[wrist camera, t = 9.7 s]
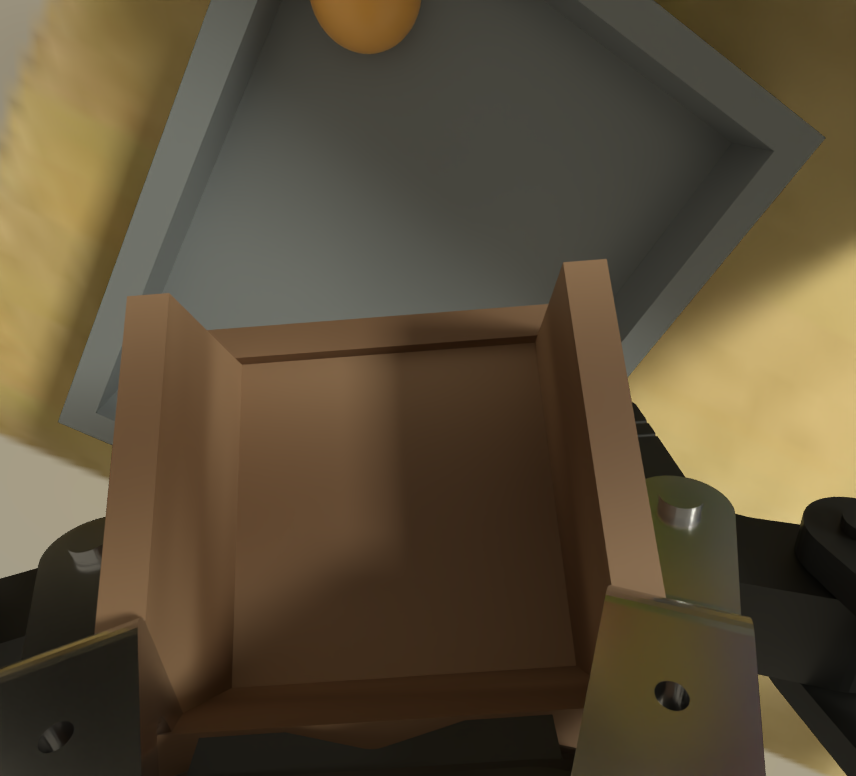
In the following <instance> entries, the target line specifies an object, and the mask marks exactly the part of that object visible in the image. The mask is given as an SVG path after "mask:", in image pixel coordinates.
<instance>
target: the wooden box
mask: <svg viewBox="0 0 856 776" xmlns="http://www.w3.org/2000/svg"><path fill="white" fill-rule="evenodd" d="M608 585H613V586H618V587H622V588H626V589H631V590H635V591H639V592H644V593H648V594H652V595H657V596H661V597H665V598H666V595H665V589H664V584H663V578H662V572H661V567H660V561H659V555H658V549H657V544H656V538H655V532H654V527H653V521H652V515H651V509H650V504H649V498H648V492H647V487H646V481H645V475H644V469H643V464H642V458H641V452H640V447H639V441H638V435H637V429H636V424H635V418H634V412H633V407H632V401H631V395H630V389H629V384H628V378H627V372H626V367H625V361H624V355H623V349H622V344H621V338H620V332H619V327H618V321H617V315H616V309H615V304H614V298H613V292H612V287H611V281H610V275H609V269H608V264H607V259H599V260H586V261H573V262H563V264H562V267H561V270H560V273H559V276H558V278H557V281H556V284H555V287H554V290H553V293H552V296H551V298H550V301H549V304H541V305H528V306H515V307H502V308H489V309H476V310H463V311H450V312H437V313H424V314H411V315H398V316H385V317H372V318H359V319H346V320H333V321H320V322H307V323H294V324H281V325H268V326H255V327H242V328H229V329H216V330H206V329H205V328H204V327H203V326H202V325H201V324H200V323H199V322H198V321H197V320H196V319H195V318H194V317H193V316H192V315H191V314H190V313H189V312H188V311H187V310H186V309H185V308H184V307H183V306H182V305H181V304H180V303H179V302H178V301H177V300H176V299H175V298H174V297H173V296H172V295H171V294H170V293H163V294H150V295H138V296H127V302H126V312H125V322H124V333H123V343H122V354H121V364H120V374H119V385H118V395H117V405H116V416H115V426H114V436H113V447H112V457H111V467H110V478H109V489H108V498H107V509H106V519H105V529H104V540H103V550H102V561H101V571H100V581H99V592H98V602H97V612H96V623H95V633H94V634H96V633H99V632H102V631H104V630H107V629H110V628H113V627H116V626H118V625H121V624H124V623H127V622H129V621H132V620H135V619H138V618H141V617H142V618H144V619H145V623H146V625H147V627H148V630H149V632H150V635H151V637H152V639H153V642H154V644H155V647H156V649H157V651H158V654H159V656H160V658H161V661H162V663H163V666H164V668H165V670H166V673H167V675H168V678H169V680H170V682H171V685H172V687H173V690H174V692H175V694H176V697H177V699H178V701H179V704H180V706H181V709H182V711H183V714H182V716H181V717H180V719H179V721H178V722H177V724H176V726H175V727H174V729H173V730H172V732H168V733H163V734H157V746H158V765H159V776H175V775H177V774H180V773H183V772H185V771H188V770H189V767H190V764H191V761H192V758H193V754H194V751H195V748H196V745H197V742H198V739H199V738H206V737H221V736H236V735H251V734H266V733H281V732H286V733H291V734H296V735H301V736H306V737H311V738H315V739H320V740H325V741H330V742H335V743H340V744H344V745H349V746H354V747H359V748H364V749H378V748H382V747H385V746H389V745H392V744H395V743H398V742H401V741H404V740H407V739H410V738H413V737H416V736H419V735H422V734H425V733H428V732H431V731H434V730H437V729H440V728H443V727H446V726H449V725H452V724H455V723H458V722H461V721H464V720H476V719H491V718H506V717H521V716H536V715H551V714H553V719H554V724H555V728H556V733H557V737H558V742H559V744H560V745H565V746H569V747H574V748H576V746H577V741H578V736H579V731H580V726H581V720H582V715H583V710H584V705H585V700H586V694H587V689H588V684H589V679H590V674H591V668H592V663H593V658H594V653H595V648H596V642H597V637H598V632H599V627H600V622H601V616H602V611H603V606H604V601H605V596H606V591H607V587H608Z"/></svg>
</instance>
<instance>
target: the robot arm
mask: <svg viewBox="0 0 856 776" xmlns="http://www.w3.org/2000/svg"><path fill="white" fill-rule="evenodd" d="M632 407H633V412H634V418H635V424H636V429H637V435H638V441H639V447H640V452H641V458H642V464H643V469H644V475H645V481H646V487H647V492H648V498H649V504H650V509H651V515H652V521H653V527H654V532H655V538H656V544H657V549H658V555H659V561H660V567H661V572H662V578H663V584H664V589H665V595H666V598H665V597H661V596H657V595H652V594H648V593H644V592H639V591H635V590H631V589H626V588H622V587H618V586H613V585H608V587H607V591H606V596H605V601H604V606H603V611H602V616H601V622H600V627H599V632H598V637H597V642H596V648H595V653H594V658H593V663H592V668H591V674H590V679H589V684H588V689H587V694H586V700H585V705H584V710H583V715H582V720H581V726H580V731H579V736H578V741H577V746H576V748H574V747H569V746H565V745H560V744H559V742H558V737H557V733H556V728H555V724H554V719H553V714H551V715H536V716H521V717H506V718H491V719H476V720H464V721H461V722H458V723H455V724H452V725H449V726H446V727H443V728H440V729H437V730H434V731H431V732H428V733H425V734H422V735H419V736H416V737H413V738H410V739H407V740H404V741H401V742H398V743H395V744H392V745H389V746H385V747H382V748H378V749H364V748H359V747H354V746H349V745H344V744H340V743H335V742H330V741H325V740H320V739H315V738H311V737H306V736H301V735H296V734H291V733H286V732H281V733H266V734H251V735H236V736H221V737H206V738H199V739H198V742H197V745H196V748H195V751H194V754H193V758H192V761H191V764H190V767H189V770H188V771H185V772H183V773H180V774H177V775H175V776H766V773H765V760H764V748H763V735H762V722H761V709H760V696H759V683H758V674H759V675H764V676H769V678H770V679H771V681H772V682H773V684H774V685H775V686H776V688H777V689H778V690H779V691H780V693H781V694H782V695H783V696H784V698H785V699H786V700H787V701H788V703H789V704H790V705H791V706H792V708H793V709H794V710H795V711H796V713H797V714H798V715H799V716H800V718H801V719H802V720H803V721H804V723H805V724H806V725H807V726H808V728H809V729H810V730H811V731H812V733H813V734H814V735H815V736H816V738H817V739H818V740H819V741H820V743H821V744H822V745H823V746H824V748H825V749H826V750H827V751H828V753H829V754H830V755H831V756H832V757H833V759H834V760H835V761H836V762H837V764H838V765H839V766H840V767H841V769H842V770H843V771H844V772H845V774H846V775H847V776H856V498H849V497H829V498H823V499H819V500H816V501H814V502H812V503H811V504H809V505H808V506H807V507H806V509H805V511H804V513H803V517H802V520H801V524H800V525H799V524H792V523H784V522H777V521H770V520H763V519H756V518H751V517H746V516H742V515H738V514H735V511H734V508H733V506H732V504H731V502H730V501H729V500H728V499H727V498H726V497H725V496H724V495H723V494H722V493H721V492H719V491H718V490H716V489H715V488H713V487H711V486H709V485H707V484H705V483H703V482H700V481H697V480H694V479H691V478H686V477H685V476H684V475H683V473H682V472H681V470H680V469H679V467H678V466H677V464H676V463H675V461H674V460H673V458H672V457H671V456H670V454H669V453H668V451H667V450H666V448H665V447H664V445H663V444H662V442H661V441H660V439H659V438H658V436H655V432H654V430H653V429H652V428H651V426H650V425H649V423H647V422H646V419H645V417H644V416H643V414H642V413H641V411H640V410H639V408H638V407H637V405H636V404H634V403H633V402H632ZM105 519H106V517H103V518H99V519H95V520H92V521H90V522H87V523H85V524H82V525H80V526H78V527H76V528H74V529H72V530H70V531H68V532H67V533H65V534H64V535H62V536H61V537H60V538H58V539H57V540H56V541H55V542H53V543H52V544H51V545H50V546H49V547H48V549H47V550H46V551H45V552H44V554H43V555H42V557H41V559H40V562H39V565H38V568H36V569H33V570H29V571H26V572H23V573H19V574H16V575H12V576H8V577H5V578H1V579H0V776H159V765H158V746H157V734H163V733H168V732H172V730H173V729H174V727H175V726H176V724H177V722H178V721H179V719H180V717H181V716H182V714H183V711H182V709H181V706H180V704H179V701H178V699H177V697H176V694H175V692H174V690H173V687H172V685H171V682H170V680H169V678H168V675H167V673H166V670H165V668H164V666H163V663H162V661H161V658H160V656H159V654H158V651H157V649H156V647H155V644H154V642H153V639H152V637H151V635H150V632H149V630H148V627H147V625H146V623H145V619H144V618H142V617H141V618H138V619H135V620H132V621H129V622H127V623H124V624H121V625H118V626H116V627H113V628H110V629H107V630H104V631H102V632H99V633H96V634H94V633H95V623H96V612H97V602H98V592H99V581H100V571H101V561H102V550H103V540H104V529H105Z"/></svg>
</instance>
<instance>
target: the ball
mask: <svg viewBox="0 0 856 776" xmlns="http://www.w3.org/2000/svg"><path fill="white" fill-rule="evenodd" d="M310 2H311V6H312V9H313V11H314V14H315V16H316V18H317V20H318V22H319V24H320V25H321V27H322V28H323V30H324V31H325V32H326V33H327V35H328V36H329V37H330V38H332V39H333V40H334V41H335V42H336V43H337V44H339V45H340V46H342V47H344V48H346V49H348V50H350V51H353V52H356V53H361V54H375V53H380V52H384V51H386V50H389V49H391V48H392V47H394V46H395V45H397V44H398V43H399V42H401V41H402V40H403V39H404V38H405V36H406V35H407V34H408V33H409V31H410V30H411V29H412V27H413V25H414V23H415V21H416V18H417V16H418V13H419V10H420V5H421V0H310Z"/></svg>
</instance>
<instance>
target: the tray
mask: <svg viewBox="0 0 856 776" xmlns="http://www.w3.org/2000/svg"><path fill="white" fill-rule="evenodd" d="M824 139H825V137H824V136H823V135H822V134H820V133H819V132H818V131H817V130H815V129H814V128H813V127H812V126H810V125H809V124H808V123H807V122H805V121H804V120H803V119H802V118H800V117H799V116H798V115H797V114H795V113H794V112H793V111H792V110H790V109H789V108H788V107H786V106H785V105H784V104H783V103H781V102H780V101H779V100H778V99H776V98H775V97H774V96H773V95H771V94H770V93H769V92H768V91H766V90H765V89H764V88H763V87H761V86H760V85H759V84H758V83H756V82H755V81H754V80H753V79H751V78H750V77H749V76H748V75H746V74H745V73H744V72H743V71H741V70H740V69H739V68H738V67H736V66H735V65H734V64H733V63H731V62H730V61H729V60H728V59H726V58H725V57H724V56H723V55H721V54H720V53H719V52H718V51H716V50H715V49H714V48H713V47H711V46H710V45H709V44H708V43H706V42H705V41H704V40H703V39H701V38H700V37H699V36H698V35H696V34H695V33H694V32H693V31H691V30H690V29H689V28H688V27H686V26H685V25H684V24H683V23H681V22H680V21H679V20H678V19H676V18H675V17H674V16H673V15H671V14H670V13H669V12H668V11H666V10H665V9H664V8H663V7H661V6H660V5H659V4H658V3H656V2H655V1H654V0H421V5H420V10H419V13H418V16H417V18H416V21H415V23H414V25H413V27H412V29H411V30H410V31H409V33H408V34H407V35H406V36H405V38H404V39H403V40H402V41H401V42H399V43H398V44H397V45H395V46H394V47H392V48H391V49H389V50H386V51H384V52H380V53H375V54H361V53H356V52H353V51H350V50H348V49H346V48H344V47H342V46H340V45H339V44H337V43H336V42H335V41H334V40H333V39H332V38H330V37H329V36H328V35H327V33H326V32H325V31H324V30H323V28H322V27H321V25H320V24H319V22H318V20H317V18H316V16H315V14H314V11H313V9H312V6H311V2H310V0H211V2H210V4H209V7H208V10H207V13H206V15H205V18H204V21H203V24H202V26H201V29H200V32H199V35H198V37H197V40H196V43H195V46H194V48H193V51H192V54H191V57H190V59H189V62H188V65H187V68H186V70H185V73H184V76H183V79H182V82H181V84H180V87H179V90H178V93H177V95H176V98H175V101H174V104H173V106H172V109H171V112H170V115H169V117H168V120H167V123H166V126H165V128H164V131H163V134H162V137H161V139H160V142H159V145H158V148H157V150H156V153H155V156H154V159H153V161H152V164H151V167H150V170H149V173H148V175H147V178H146V181H145V184H144V186H143V189H142V192H141V195H140V197H139V200H138V203H137V206H136V208H135V211H134V214H133V217H132V219H131V222H130V225H129V228H128V230H127V233H126V236H125V239H124V241H123V244H122V247H121V250H120V252H119V255H118V258H117V261H116V264H115V266H114V269H113V272H112V275H111V277H110V280H109V283H108V286H107V288H106V291H105V294H104V297H103V299H102V302H101V305H100V308H99V310H98V313H97V316H96V319H95V321H94V324H93V327H92V330H91V332H90V335H89V338H88V341H87V343H86V346H85V349H84V352H83V355H82V357H81V360H80V363H79V366H78V368H77V371H76V374H75V377H74V379H73V382H72V385H71V388H70V390H69V393H68V396H67V399H66V401H65V404H64V407H63V410H62V412H61V415H60V418H59V421H58V422H59V423H61V424H63V425H66V426H68V427H70V428H73V429H75V430H78V431H80V432H82V433H85V434H87V435H89V436H92V437H94V438H96V439H99V440H101V441H104V442H106V443H108V444H111V445H113V436H114V426H115V416H116V405H117V395H118V385H119V374H120V364H121V354H122V343H123V333H124V322H125V312H126V302H127V296H138V295H150V294H163V293H170V294H171V295H172V296H173V297H174V298H175V299H176V300H177V301H178V302H179V303H180V304H181V305H182V306H183V307H184V308H185V309H186V310H187V311H188V312H189V313H190V314H191V315H192V316H193V317H194V318H195V319H196V320H197V321H198V322H199V323H200V324H201V325H202V326H203V327H204V328H205V329H206V330H216V329H229V328H242V327H255V326H268V325H281V324H294V323H307V322H320V321H333V320H346V319H359V318H372V317H385V316H398V315H411V314H424V313H437V312H450V311H463V310H476V309H489V308H502V307H515V306H528V305H541V304H549V301H550V298H551V296H552V293H553V290H554V287H555V284H556V281H557V278H558V276H559V273H560V270H561V267H562V264H563V262H573V261H586V260H599V259H607V264H608V269H609V275H610V281H611V287H612V292H613V298H614V304H615V309H616V315H617V321H618V327H619V332H620V338H621V344H622V349H623V355H624V361H625V367H626V372H627V377H628V376H629V375H630V374H631V373H632V371H633V370H634V369H635V368H636V367H637V365H638V364H639V363H640V362H641V361H642V359H643V358H644V357H645V356H646V355H647V353H648V352H649V351H650V350H651V348H652V347H653V346H654V345H655V344H656V342H657V341H658V340H659V339H660V338H661V336H662V335H663V334H664V333H665V332H666V330H667V329H668V328H669V327H670V326H671V324H672V323H673V322H674V321H675V319H676V318H677V317H678V316H679V315H680V313H681V312H682V311H683V310H684V309H685V307H686V306H687V305H688V304H689V303H690V301H691V300H692V299H693V298H694V296H695V295H696V294H697V293H698V292H699V290H700V289H701V288H702V287H703V286H704V284H705V283H706V282H707V281H708V280H709V278H710V277H711V276H712V275H713V274H714V272H715V271H716V270H717V269H718V267H719V266H720V265H721V264H722V263H723V261H724V260H725V259H726V258H727V257H728V255H729V254H730V253H731V252H732V251H733V249H734V248H735V247H736V246H737V245H738V243H739V242H740V241H741V240H742V238H743V237H744V236H745V235H746V234H747V232H748V231H749V230H750V229H751V228H752V226H753V225H754V224H755V223H756V222H757V220H758V219H759V218H760V217H761V216H762V214H763V213H764V212H765V211H766V209H767V208H768V207H769V206H770V205H771V203H772V202H773V201H774V200H775V199H776V197H777V196H778V195H779V194H780V193H781V191H782V190H783V189H784V188H785V187H786V185H787V184H788V183H789V182H790V180H791V179H792V178H793V177H794V176H795V174H796V173H797V172H798V171H799V170H800V168H801V167H802V166H803V165H804V164H805V162H806V161H807V160H808V159H809V158H810V156H811V155H812V154H813V153H814V151H815V150H816V149H817V148H818V147H819V145H820V144H821V143H822V142H823V141H824Z"/></svg>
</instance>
